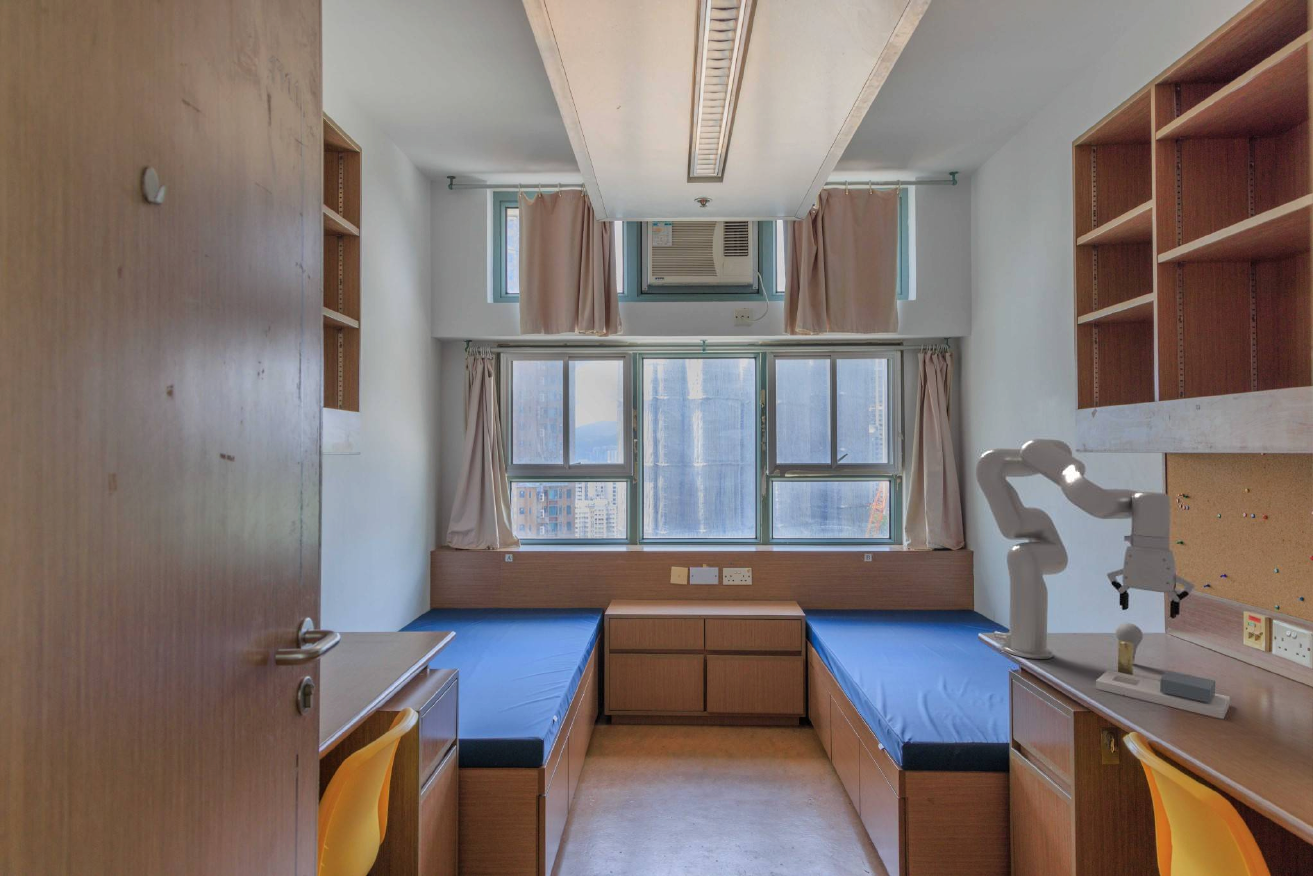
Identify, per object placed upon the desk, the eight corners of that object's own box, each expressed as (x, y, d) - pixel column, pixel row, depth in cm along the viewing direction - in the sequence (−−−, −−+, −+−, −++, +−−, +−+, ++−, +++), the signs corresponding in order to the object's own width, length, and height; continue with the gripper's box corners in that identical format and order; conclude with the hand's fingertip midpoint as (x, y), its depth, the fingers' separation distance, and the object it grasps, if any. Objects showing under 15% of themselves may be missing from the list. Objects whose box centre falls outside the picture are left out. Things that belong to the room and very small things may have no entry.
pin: (1116, 677, 173) (1117, 642, 173) (1119, 674, 176) (1119, 639, 176) (1131, 680, 171) (1131, 645, 171) (1133, 677, 173) (1134, 642, 173)
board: (1095, 688, 164) (1096, 680, 164) (1107, 677, 173) (1107, 669, 173) (1223, 719, 147) (1223, 709, 147) (1229, 705, 156) (1229, 696, 156)
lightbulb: (1116, 664, 184) (1117, 624, 184) (1113, 658, 189) (1114, 619, 189) (1144, 668, 181) (1144, 627, 181) (1140, 662, 186) (1140, 622, 187)
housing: (1160, 691, 156) (1160, 678, 156) (1167, 682, 163) (1167, 670, 163) (1209, 703, 150) (1210, 689, 150) (1215, 693, 156) (1215, 680, 156)
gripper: (1104, 539, 167) (1102, 608, 167) (1191, 549, 154) (1190, 623, 154) (1112, 537, 172) (1111, 604, 172) (1198, 546, 159) (1196, 618, 159)
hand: (1148, 613), depth 163 cm, fingers open, 9 cm apart
